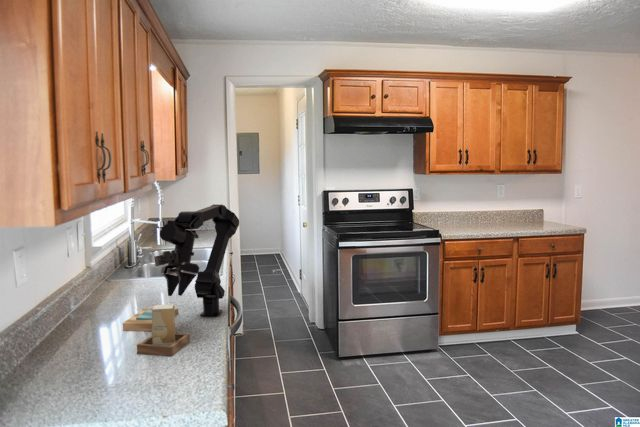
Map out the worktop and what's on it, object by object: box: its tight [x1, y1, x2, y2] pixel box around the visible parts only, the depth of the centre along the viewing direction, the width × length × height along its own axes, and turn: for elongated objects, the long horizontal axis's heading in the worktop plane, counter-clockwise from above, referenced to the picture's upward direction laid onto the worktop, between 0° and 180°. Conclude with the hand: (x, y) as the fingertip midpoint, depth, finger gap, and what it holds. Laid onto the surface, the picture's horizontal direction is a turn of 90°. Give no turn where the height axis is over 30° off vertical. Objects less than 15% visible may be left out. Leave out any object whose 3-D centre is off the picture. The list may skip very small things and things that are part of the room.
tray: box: [136, 332, 191, 357], centre depth 153 cm, size 11×11×2 cm
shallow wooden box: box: [122, 306, 179, 332], centre depth 177 cm, size 18×12×3 cm, turn 174°
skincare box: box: [151, 304, 176, 346], centre depth 152 cm, size 6×4×12 cm
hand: (174, 295), depth 164 cm, fingers open, 9 cm apart
